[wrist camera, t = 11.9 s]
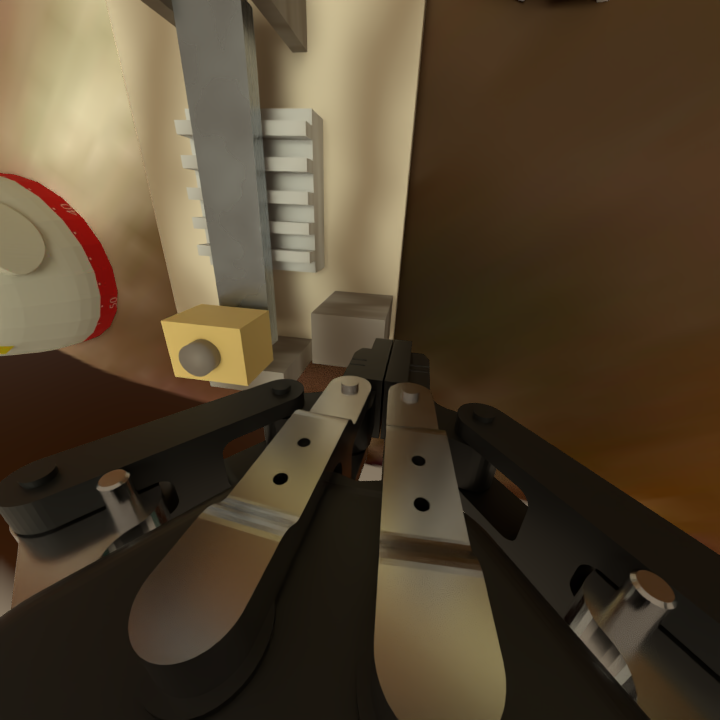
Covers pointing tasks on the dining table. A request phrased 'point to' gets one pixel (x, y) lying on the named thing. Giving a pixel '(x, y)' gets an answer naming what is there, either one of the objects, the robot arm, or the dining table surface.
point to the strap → (229, 146)
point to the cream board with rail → (294, 163)
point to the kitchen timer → (49, 272)
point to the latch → (219, 343)
